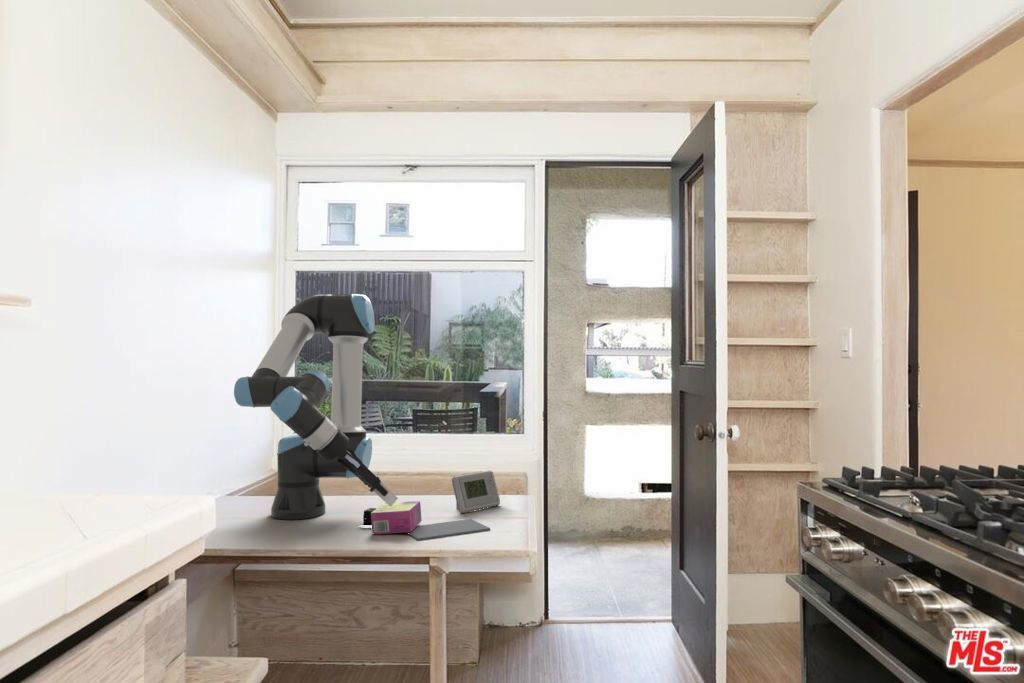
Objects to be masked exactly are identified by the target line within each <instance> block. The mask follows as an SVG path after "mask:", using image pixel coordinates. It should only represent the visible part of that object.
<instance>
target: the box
mask: <svg viewBox="0 0 1024 683" xmlns="http://www.w3.org/2000/svg"><path fill="white" fill-rule="evenodd" d="M421 507H422V506H421V501H420V500H413V501H401V502H400V501H399V502H396V501H395V503H394V504H393V505H392V506H389V505H388V504H387V503H386V502H383V503H382V504H381V505H379V506H378V507H377V509H375V510H374V511H373V512H371V523H372V529H371V532H372V533H374V534H373V535H385V534H399V533H402V534H403V533H406V532H411V531H412V530H413V529H414V528H415V527H416V526H419V524H420V523H422V522H423V521H422V508H421Z"/></svg>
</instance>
